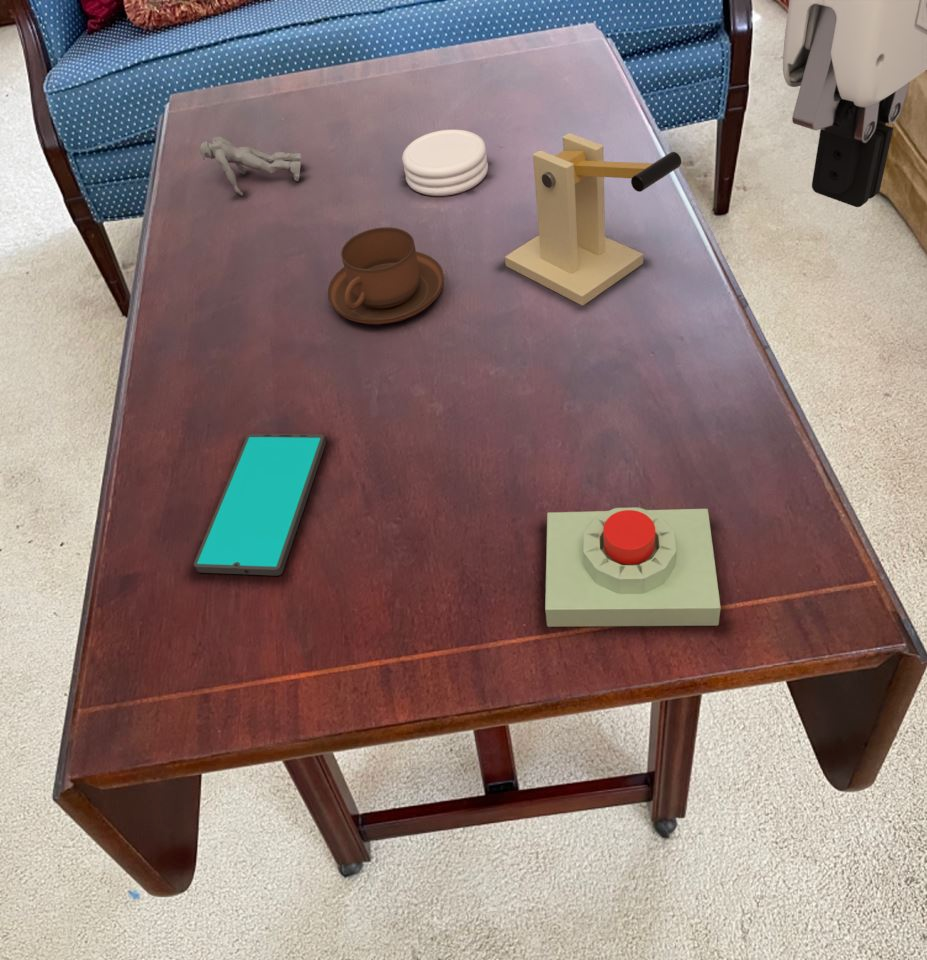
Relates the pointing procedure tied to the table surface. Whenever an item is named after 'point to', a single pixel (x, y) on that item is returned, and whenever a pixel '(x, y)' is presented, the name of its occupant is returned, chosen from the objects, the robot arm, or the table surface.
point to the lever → (622, 168)
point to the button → (629, 537)
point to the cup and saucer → (384, 278)
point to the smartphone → (261, 505)
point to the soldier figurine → (248, 159)
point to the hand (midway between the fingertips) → (844, 192)
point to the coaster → (445, 162)
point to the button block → (631, 573)
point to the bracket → (572, 230)
